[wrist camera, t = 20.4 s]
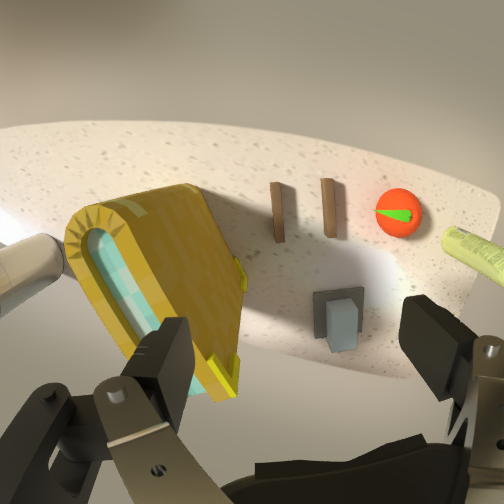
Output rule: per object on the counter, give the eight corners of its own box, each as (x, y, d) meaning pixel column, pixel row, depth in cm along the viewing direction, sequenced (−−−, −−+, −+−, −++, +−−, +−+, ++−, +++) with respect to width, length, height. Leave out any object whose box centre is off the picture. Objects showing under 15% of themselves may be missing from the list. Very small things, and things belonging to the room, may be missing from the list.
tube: (451, 262, 43) (524, 308, 24) (434, 248, 43) (511, 292, 24) (466, 234, 42) (543, 270, 23) (449, 219, 41) (531, 251, 22)
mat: (314, 336, 47) (315, 338, 47) (313, 292, 45) (314, 294, 44) (360, 330, 47) (361, 332, 46) (362, 286, 45) (363, 288, 44)
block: (326, 339, 47) (331, 352, 43) (325, 301, 45) (331, 313, 41) (349, 335, 46) (356, 348, 42) (350, 297, 44) (358, 309, 41)
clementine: (359, 229, 42) (377, 240, 35) (364, 182, 40) (383, 185, 33) (405, 233, 42) (427, 245, 35) (410, 189, 40) (434, 194, 33)
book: (247, 279, 45) (237, 396, 21) (208, 296, 45) (165, 414, 21) (196, 175, 41) (116, 185, 17) (156, 196, 41) (48, 232, 17)
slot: (275, 238, 43) (276, 242, 40) (269, 182, 41) (270, 183, 38) (332, 233, 42) (336, 237, 40) (328, 178, 40) (333, 178, 38)
